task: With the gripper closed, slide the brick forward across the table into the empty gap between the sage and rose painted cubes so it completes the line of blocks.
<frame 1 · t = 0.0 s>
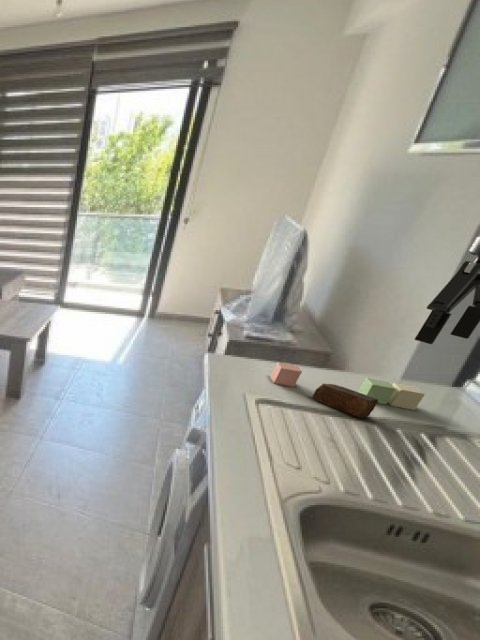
hand: (441, 339, 103), 20 cm above the table, tool pointing down, fingers open, 13 cm apart
cube cream: (398, 404, 121), on the table
cube sage: (371, 398, 123), on the table
cube rose: (281, 381, 130), on the table
brick: (338, 408, 117), on the table
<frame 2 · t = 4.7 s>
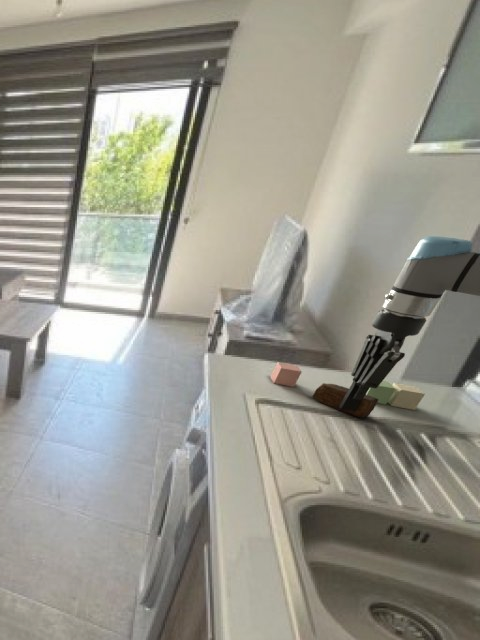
hand: (346, 408, 113), 2 cm above the table, tool pointing down, fingers closed
nothing on the table moved.
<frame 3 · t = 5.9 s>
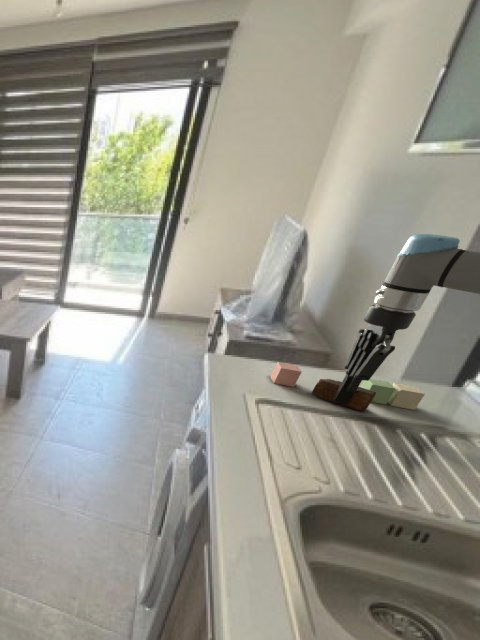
hand: (340, 401, 117), 1 cm above the table, tool pointing down, fingers closed
brick: (337, 402, 120), on the table
everything else where it was.
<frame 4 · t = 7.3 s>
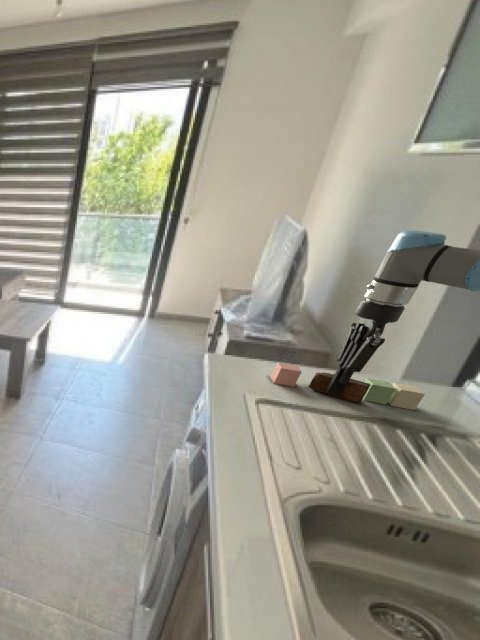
hand: (333, 392, 122), 1 cm above the table, tool pointing down, fingers closed
brick: (333, 395, 124), on the table, touching gripper
everything else where it was.
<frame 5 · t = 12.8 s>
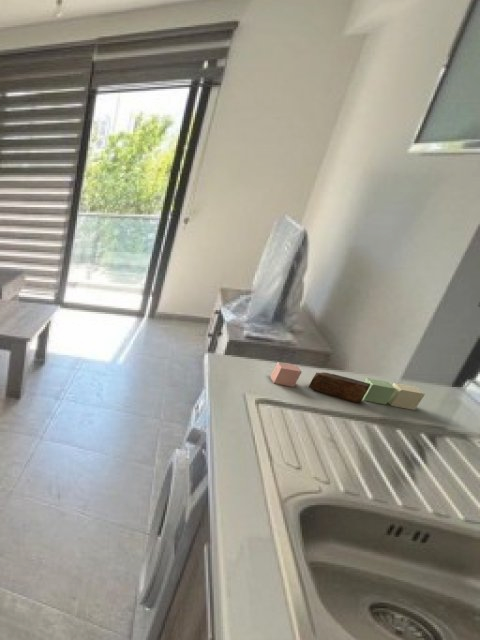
brick: (333, 394, 124), on the table
everything else where it was.
at the end: brick 2.4 cm from the target spot, on the table; brick tilted 0°; cube rose moved 0.0 cm from its start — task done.
